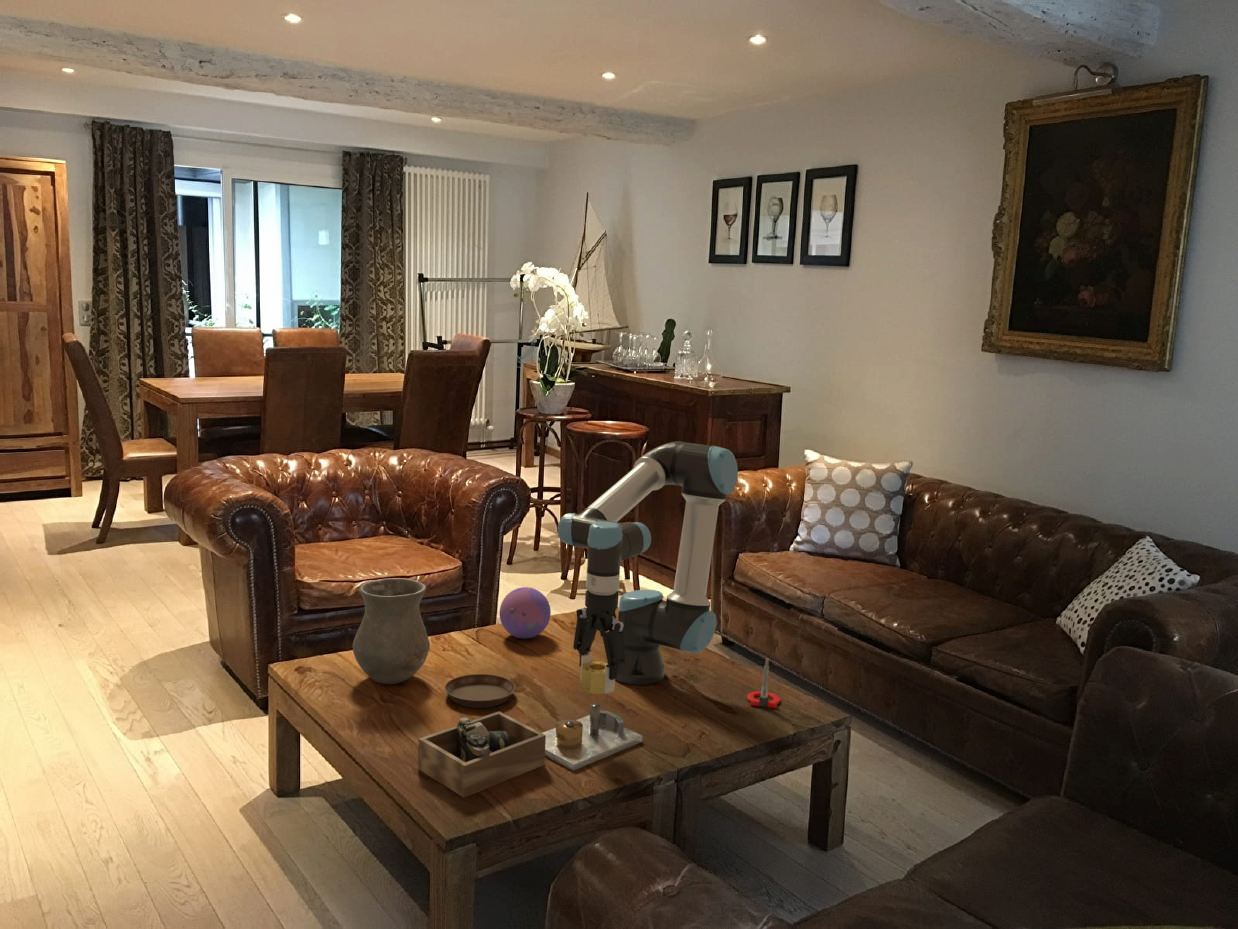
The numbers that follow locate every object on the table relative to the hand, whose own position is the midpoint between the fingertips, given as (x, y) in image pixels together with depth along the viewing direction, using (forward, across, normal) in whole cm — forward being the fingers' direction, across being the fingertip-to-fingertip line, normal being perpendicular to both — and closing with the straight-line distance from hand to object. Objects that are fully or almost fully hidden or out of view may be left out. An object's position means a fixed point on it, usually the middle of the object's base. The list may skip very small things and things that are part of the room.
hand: (597, 686), depth 235 cm
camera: (+13, -5, -28) cm, 31 cm away
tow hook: (+13, +12, +50) cm, 53 cm away
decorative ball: (+13, -62, +32) cm, 71 cm away
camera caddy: (+13, -6, -28) cm, 32 cm away
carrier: (+13, 0, -3) cm, 14 cm away
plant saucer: (+14, -36, -5) cm, 39 cm away
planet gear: (0, 0, 0) cm, 0 cm away
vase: (+13, -59, -16) cm, 63 cm away
